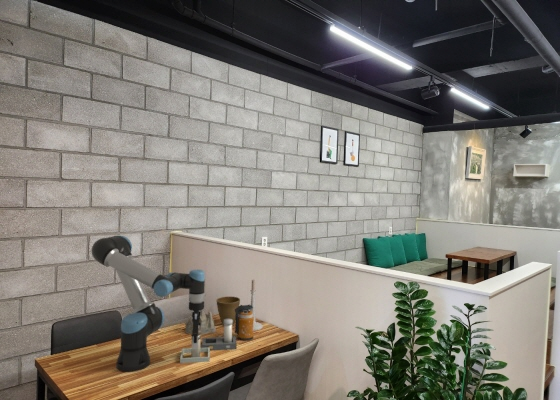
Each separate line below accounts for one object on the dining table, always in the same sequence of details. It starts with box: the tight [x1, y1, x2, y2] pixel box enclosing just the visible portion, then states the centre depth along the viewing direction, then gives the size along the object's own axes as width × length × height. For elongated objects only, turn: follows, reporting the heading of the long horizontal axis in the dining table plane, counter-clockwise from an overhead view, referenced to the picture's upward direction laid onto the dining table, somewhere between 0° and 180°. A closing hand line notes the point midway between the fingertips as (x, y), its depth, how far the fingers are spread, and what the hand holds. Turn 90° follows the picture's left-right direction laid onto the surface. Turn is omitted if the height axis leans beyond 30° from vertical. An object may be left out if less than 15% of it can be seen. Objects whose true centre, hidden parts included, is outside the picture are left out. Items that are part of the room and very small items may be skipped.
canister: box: [233, 304, 254, 342], centre depth 216 cm, size 9×11×20 cm
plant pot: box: [216, 296, 241, 327], centre depth 241 cm, size 15×15×16 cm
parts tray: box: [179, 347, 211, 365], centre depth 190 cm, size 14×12×3 cm
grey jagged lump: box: [184, 309, 217, 336], centre depth 228 cm, size 16×16×15 cm
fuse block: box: [201, 336, 238, 351], centre depth 204 cm, size 18×10×4 cm, turn 100°
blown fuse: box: [190, 328, 202, 358], centre depth 190 cm, size 5×5×14 cm
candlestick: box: [250, 279, 263, 332], centre depth 237 cm, size 13×13×30 cm
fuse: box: [223, 319, 233, 342], centre depth 205 cm, size 5×5×14 cm
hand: (195, 343), depth 190 cm, fingers open, 13 cm apart
